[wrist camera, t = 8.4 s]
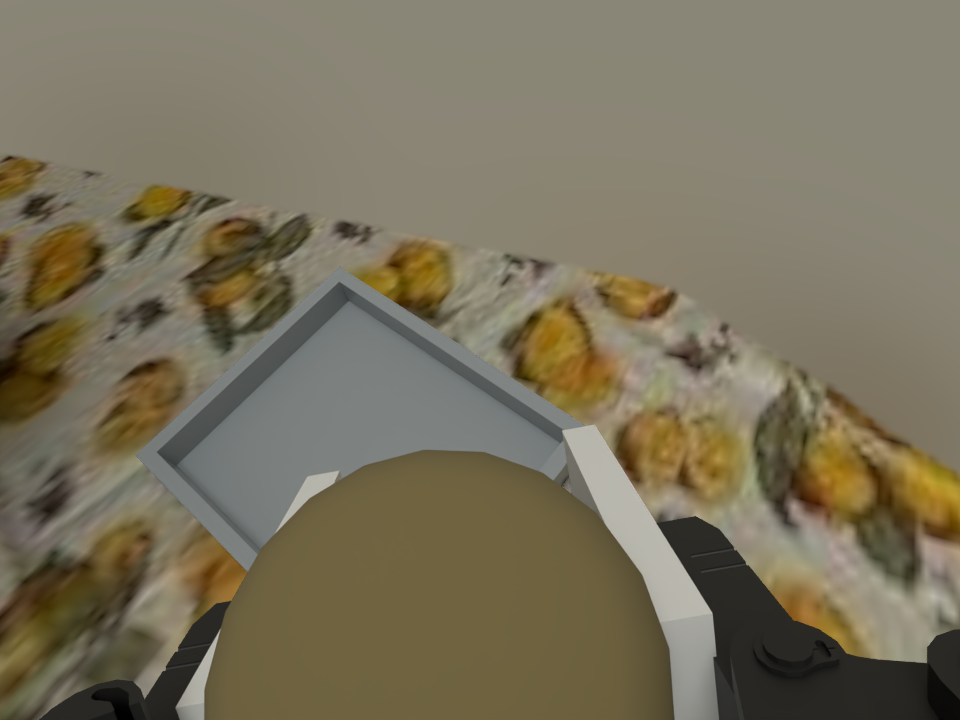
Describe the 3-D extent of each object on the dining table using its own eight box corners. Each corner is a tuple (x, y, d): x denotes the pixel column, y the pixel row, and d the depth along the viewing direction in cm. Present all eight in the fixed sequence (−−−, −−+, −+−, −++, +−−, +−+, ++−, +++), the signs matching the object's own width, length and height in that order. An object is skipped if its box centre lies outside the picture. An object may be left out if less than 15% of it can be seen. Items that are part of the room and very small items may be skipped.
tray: (162, 471, 33) (135, 455, 31) (351, 291, 38) (339, 266, 36) (394, 709, 26) (379, 709, 24) (589, 449, 31) (591, 429, 29)
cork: (462, 525, 17) (355, 301, 8) (662, 644, 15) (853, 541, 6) (333, 736, 15) (-49, 788, 5) (548, 911, 13) (548, 1501, 3)
